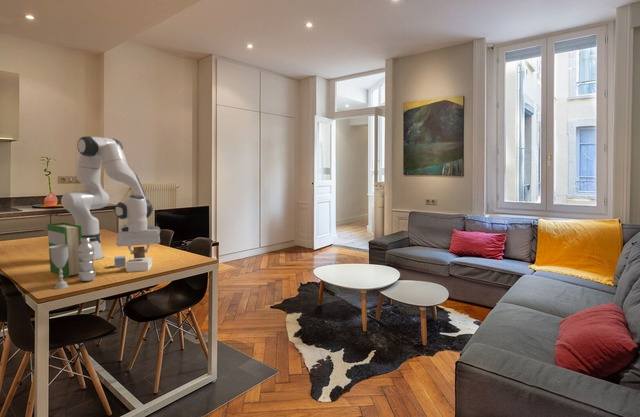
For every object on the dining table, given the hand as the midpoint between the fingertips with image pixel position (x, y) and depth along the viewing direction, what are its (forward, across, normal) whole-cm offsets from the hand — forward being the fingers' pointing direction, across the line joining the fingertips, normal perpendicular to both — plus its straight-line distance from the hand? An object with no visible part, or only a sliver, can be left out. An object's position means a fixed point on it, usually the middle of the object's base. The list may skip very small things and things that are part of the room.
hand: (139, 253), depth 190 cm
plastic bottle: (+8, +22, +13) cm, 27 cm away
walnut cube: (+2, 0, 0) cm, 2 cm away
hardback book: (+8, +32, -6) cm, 34 cm away
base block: (+8, 0, 0) cm, 8 cm away
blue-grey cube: (+8, +9, -10) cm, 16 cm away
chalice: (+8, +31, +19) cm, 37 cm away
